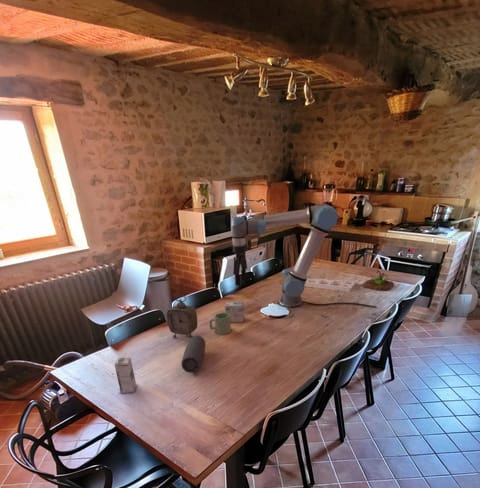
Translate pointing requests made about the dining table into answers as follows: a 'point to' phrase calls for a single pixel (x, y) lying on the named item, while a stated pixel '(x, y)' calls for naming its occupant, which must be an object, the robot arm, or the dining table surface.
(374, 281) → the plant
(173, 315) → the tabletop clock
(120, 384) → the syrup box
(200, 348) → the bluetooth speaker
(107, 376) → the dining table surface
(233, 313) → the light bulb box
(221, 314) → the mug
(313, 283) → the holder
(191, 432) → the dining table surface
